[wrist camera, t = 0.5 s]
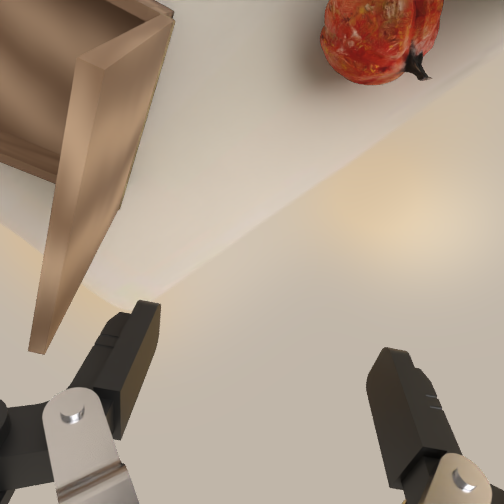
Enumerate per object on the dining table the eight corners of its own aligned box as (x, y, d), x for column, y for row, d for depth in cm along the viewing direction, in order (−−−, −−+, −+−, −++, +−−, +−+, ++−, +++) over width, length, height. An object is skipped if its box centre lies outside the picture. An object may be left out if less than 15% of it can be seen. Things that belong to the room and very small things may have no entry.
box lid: (73, 55, 11) (108, 71, 11) (161, 12, 23) (176, 20, 23) (25, 350, 19) (46, 355, 19) (109, 201, 31) (121, 205, 31)
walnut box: (-57, -115, 22) (-112, -133, 19) (174, 11, 26) (161, 14, 22) (-52, 111, 30) (-90, 126, 27) (124, 184, 34) (109, 204, 31)
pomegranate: (297, 25, 28) (356, 136, 27) (282, -53, 21) (361, 93, 20) (388, -33, 26) (455, 82, 25) (405, -139, 19) (499, 14, 18)
